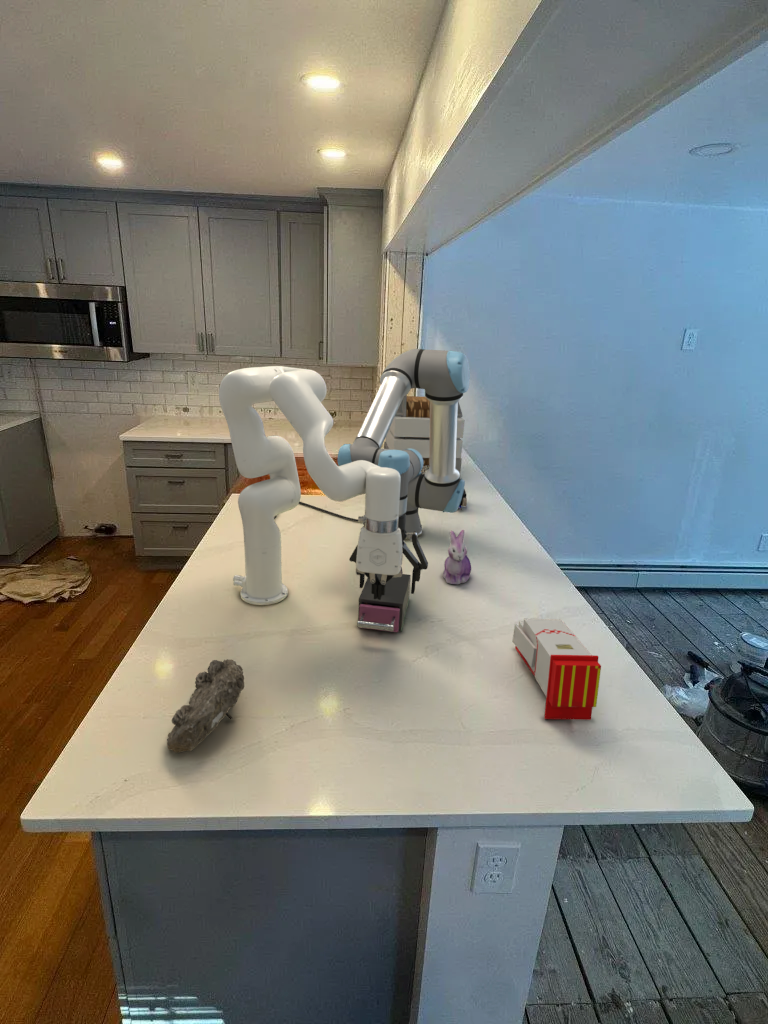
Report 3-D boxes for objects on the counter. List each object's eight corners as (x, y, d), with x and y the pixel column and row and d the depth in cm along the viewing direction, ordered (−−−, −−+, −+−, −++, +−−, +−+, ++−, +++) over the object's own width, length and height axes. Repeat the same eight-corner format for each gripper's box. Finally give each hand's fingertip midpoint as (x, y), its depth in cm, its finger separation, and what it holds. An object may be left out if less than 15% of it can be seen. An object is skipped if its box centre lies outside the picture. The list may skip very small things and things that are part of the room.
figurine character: (467, 515, 225) (461, 499, 238) (469, 498, 221) (463, 482, 235) (450, 514, 224) (445, 498, 238) (452, 497, 221) (447, 482, 234)
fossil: (192, 660, 117) (244, 628, 112) (224, 691, 120) (276, 661, 115) (142, 746, 98) (202, 712, 93) (182, 779, 101) (242, 748, 96)
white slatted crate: (382, 463, 289) (386, 382, 275) (445, 464, 293) (451, 384, 279) (390, 482, 257) (394, 392, 243) (460, 483, 261) (468, 394, 247)
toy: (557, 603, 136) (610, 662, 107) (552, 655, 139) (602, 726, 109) (507, 602, 136) (546, 661, 106) (503, 654, 138) (540, 725, 109)
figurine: (453, 588, 162) (457, 540, 157) (434, 573, 170) (437, 527, 165) (479, 582, 166) (485, 535, 161) (459, 568, 175) (464, 523, 170)
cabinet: (401, 632, 139) (403, 603, 137) (357, 626, 141) (358, 598, 138) (409, 600, 155) (410, 574, 152) (369, 595, 156) (370, 570, 153)
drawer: (394, 644, 132) (396, 622, 130) (354, 639, 134) (354, 617, 132) (405, 602, 152) (406, 582, 149) (369, 598, 153) (370, 578, 151)
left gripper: (344, 526, 123) (343, 600, 130) (412, 532, 121) (408, 608, 128) (351, 514, 130) (350, 586, 137) (416, 520, 128) (411, 593, 135)
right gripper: (339, 512, 140) (337, 589, 147) (440, 522, 137) (433, 600, 144) (345, 503, 147) (344, 577, 154) (442, 512, 144) (435, 587, 151)
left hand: (378, 596), depth 132 cm, fingers closed
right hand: (387, 588), depth 149 cm, fingers open, 13 cm apart
